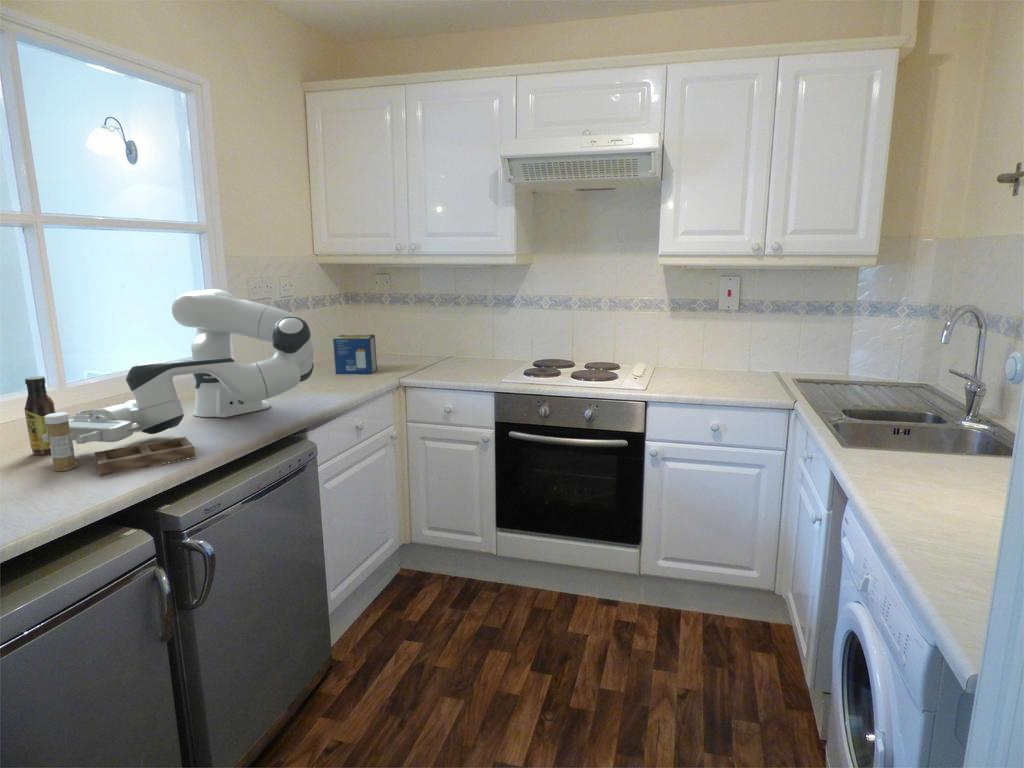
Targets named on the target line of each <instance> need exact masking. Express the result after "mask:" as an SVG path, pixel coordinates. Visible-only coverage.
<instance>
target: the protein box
mask: <svg viewBox="0 0 1024 768" xmlns="http://www.w3.org/2000/svg"><path fill="white" fill-rule="evenodd" d="M332 343H333V357H334V358H333V359H334V372H335V375H336V374H358V375H372V374H373V373H375V372H376V371H378V363H377V348H376V336H375V334H340V335H337V336H336V337H333V338H332Z"/></svg>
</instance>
